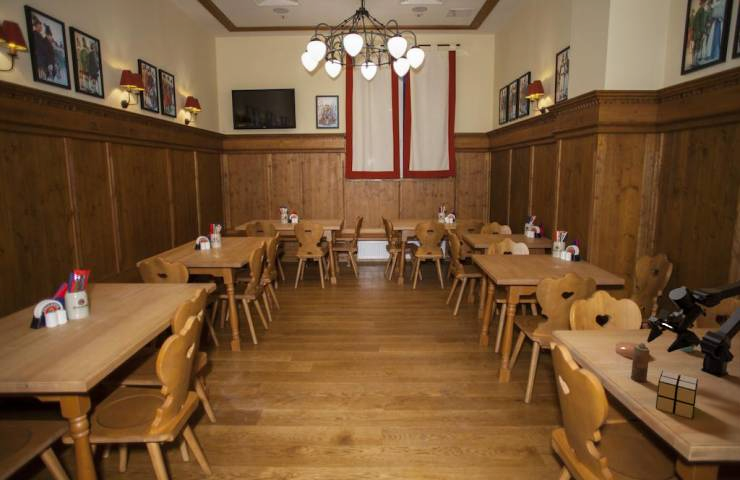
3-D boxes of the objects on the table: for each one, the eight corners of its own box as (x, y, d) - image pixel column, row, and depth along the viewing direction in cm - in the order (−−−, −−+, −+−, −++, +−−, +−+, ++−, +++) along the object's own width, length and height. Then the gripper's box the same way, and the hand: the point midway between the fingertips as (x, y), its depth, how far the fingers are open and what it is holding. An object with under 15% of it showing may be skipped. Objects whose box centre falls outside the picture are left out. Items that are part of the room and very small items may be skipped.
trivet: (654, 357, 184) (655, 350, 183) (635, 362, 179) (635, 355, 179) (627, 346, 195) (628, 340, 194) (608, 351, 190) (609, 344, 190)
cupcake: (697, 355, 184) (700, 328, 183) (672, 350, 190) (675, 324, 188) (697, 348, 191) (700, 322, 189) (674, 344, 196) (676, 318, 194)
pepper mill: (649, 381, 163) (653, 344, 160) (640, 383, 161) (644, 346, 158) (636, 375, 167) (640, 339, 165) (627, 378, 165) (631, 341, 163)
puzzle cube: (659, 396, 152) (662, 370, 150) (694, 406, 145) (698, 378, 144) (655, 409, 144) (658, 381, 142) (692, 420, 138) (696, 390, 136)
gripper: (654, 295, 170) (626, 324, 170) (697, 310, 152) (666, 342, 152) (670, 313, 173) (642, 342, 173) (714, 330, 155) (683, 362, 155)
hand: (657, 346), depth 163 cm, fingers open, 9 cm apart
